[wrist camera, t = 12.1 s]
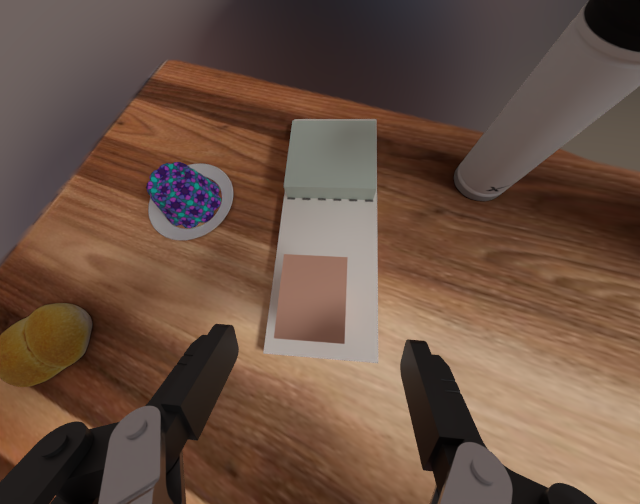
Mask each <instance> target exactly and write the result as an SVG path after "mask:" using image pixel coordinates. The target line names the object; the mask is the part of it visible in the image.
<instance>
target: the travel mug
mask: <svg viewBox="0 0 640 504" xmlns="http://www.w3.org/2000/svg"><path fill="white" fill-rule="evenodd" d="M639 86H640V0H589V1H588V2H587V3H586V4H585V5H584V7H583V8H582V9H581V11H580V12H579V14H578V16H577V17H575V18H574V19H573V21H572V22H571V23H570V24H569V26H568V27H567V28H566V30H565V31H564V32H563V33H562V35H561V36H560V37H559V38H558V40H557V41H556V42H555V44H554V45H553V46H552V47H551V49H550V50H549V51H548V53H547V54H546V55H545V56H544V58H543V59H542V60H541V61H540V63H539V64H538V65H537V67H536V68H535V69H534V70H533V72H532V73H531V75H529V77H528V78H527V79H526V81H525V82H524V83H523V84H522V86H521V87H520V88H519V90H518V91H517V92H516V93H515V95H514V96H513V97H512V99H511V100H510V101H509V102H508V104H507V105H506V106H505V107H504V109H503V110H502V111H501V112H500V114H499V115H498V116H497V118H496V119H495V120H494V121H493V123H492V124H491V125H490V126H489V128H488V129H487V130H486V132H485V133H484V134H483V135H482V137H481V138H480V139H479V141H478V142H477V143H476V144H475V146H474V147H473V148H472V149H471V151H470V152H469V153H468V155H467V156H466V157H465V158H464V160H463V161H462V162H461V163H460V165H459V166H458V167H457V169H456V170H455V173H454V182H455V185H456V187H457V189H458V190H459V191H460V192H461V193H462V194H463V195H465V196H466V197H468V198H470V199H473V200H477V201H488V200H492V199H495V198H496V197H498V196H499V195H500V194H502V193H503V192H504V191H506V190H507V189H508V188H509V187H511V186H512V185H513V184H515V183H516V182H517V181H518V180H520V179H521V178H522V177H524V176H525V175H526V174H527V173H529V172H530V171H531V170H532V169H534V168H535V167H536V166H538V165H539V164H540V163H541V162H543V161H544V160H545V159H547V158H548V157H549V156H550V155H552V154H553V153H554V152H556V151H557V150H558V149H559V148H561V147H562V146H563V145H565V144H566V143H567V142H568V141H570V140H571V139H572V138H573V137H575V136H576V135H577V134H578V133H580V132H581V131H582V130H584V129H585V128H586V127H588V126H589V125H590V124H591V123H593V122H594V121H595V120H596V119H598V118H599V117H600V116H602V115H603V114H604V113H605V112H607V111H608V110H609V109H610V108H612V107H613V106H614V105H616V104H617V103H618V102H619V101H621V100H622V99H623V98H625V97H626V96H627V95H628V94H630V93H631V92H632V91H634V90H635V89H636V88H637V87H639Z"/></svg>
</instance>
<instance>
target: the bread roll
mask: <svg viewBox="0 0 640 504" xmlns="http://www.w3.org/2000/svg"><path fill="white" fill-rule="evenodd" d="M92 325H93V324H92V320H91V317H90V315H89V314H88V313H87V312H86V311H85V310H84V309H82V308H81V307H79V306H77V305H74V304H68V303H55V304H48V305H44V306H42V307H39V308H38V309H36V310H35V311H34V312H33V313H32V314H31V315H30V316H29V317H26V318H24V319H22V320H20V321H18V322H17V323H15V324H13V325H12V326H11V327H9V328H8V329H7V330H6V331H4V332H3V333H2V334H1V335H0V378H1V379H2V380H3V381H5V382H6V383H8V384H11V385H14V386H18V387H29V386H33V385H36V384H39V383H42V382H45V381H46V380H48V379H50V378H52V377H53V376H55V375H56V374H58V373H59V372H60V371H62V370H63V369H65V368H66V367H68V366H70V365H72V364H73V363H75V362H76V361H77V360H79V359H80V358H81V357H82V356H83V355H84V353H85V352H86V349H87V346H88V344H89V340H90V335H91V330H92Z"/></svg>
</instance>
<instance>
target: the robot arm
mask: <svg viewBox="0 0 640 504" xmlns="http://www.w3.org/2000/svg"><path fill="white" fill-rule="evenodd" d="M238 350H239V348H238V343H237V339H236V335H235V330H234V327H233V326H232V325H224V324H215V325H214V326H213V327H212V329H211V330H210V332H209V333H208V335H202V336H200V337H199V338H198V339H197V340H195V341H194V342H193V343H192V344H191V345H190V346H189V348H188V349H187V351H186V352H185V353H184V356H182V357H181V359H180V360H179V362H178V363H177V365H176V366H175V367H174V368H173V370H172V371H171V372H170V374H169V375H168V377H167V378H166V379H165V381H164V382H163V383H162V385H161V386H160V388H159V389H158V390H157V392H156V393H155V394H154V396H153V397H152V399H151V400H150V401H149V402H148V404H147V405H146V406H144V407H141V408H138V409H136V410H134V411H133V412H131V413H130V414H128V415H127V416H126V417H125V418H123V419H122V420H121V421H120V422H117V423H113V424H109V425H105V426H101V427H97V428H93V429H88V428H87V427H86V426H85V424H84V423H82V422H71V423H67V424H65V425H62V426H60V427H58V428H57V429H55V430H53V431H52V432H50V433H49V434H47V435H46V436H45V437H44V438H42V439H41V440H40V441H39V442H38V443H37V444H36V445H35V446H34V447H33V448H32V449H31V450H30V451H29V452H28V453H27V454H26V455H25V456H24V458H23V459H22V460H21V461H20V462H19V463H18V464H17V465H16V466H15V467H14V468H13V469H12V470H11V471H10V472H9V473H8V475H7V476H6V477H5V478H4V479H3V480H2V481H1V482H0V504H49V503H50V502H51V500H52V499H53V498H54V496H55V495H56V497H55V498H54V500H53V501H52V502H51V504H186V495H185V479H184V463H183V451H182V449H183V447H184V445H185V443H186V441H187V439H190V440H198V439H199V437H200V435H201V433H202V431H203V429H204V426H205V424H206V422H207V420H208V418H209V416H210V414H211V412H212V410H213V408H214V406H215V404H216V401H217V399H218V397H219V395H220V393H221V391H222V389H223V387H224V385H225V383H226V381H227V378H228V376H229V374H230V372H231V370H232V368H233V366H234V364H235V362H236V359H237V356H238ZM400 370H401V377H402V382H403V386H404V390H405V395H406V399H407V403H408V408H409V412H410V416H411V421H412V425H413V429H414V434H415V438H416V442H417V447H418V451H419V455H420V460H421V464H422V468H423V470H426V471H433V474H434V477H435V481H436V486H435V489H434V492H433V495H432V498H431V500H430V503H429V504H597V503H595V502H594V501H593V500H592V499H591V498H590V497H588V496H587V495H586V494H584V493H583V492H581V491H580V490H578V489H576V488H574V487H572V486H570V485H567V484H564V483H555V484H553V485H551V486H550V487H549V488H547V487H545V486H543V485H541V484H539V483H536V482H534V481H532V480H530V479H528V478H526V477H524V476H521V475H519V474H517V473H515V472H513V471H511V470H510V469H508V468H507V467H505V466H504V465H503V464H502V463H501V462H500V461H499V459H498V458H497V457H496V456H495V455H494V454H493V453H492V452H490V451H489V450H488V449H487V447H486V446H485V444H484V443H483V441H482V439H481V437H480V435H479V432H478V430H477V428H476V426H475V423H474V421H473V419H472V417H471V414H470V412H469V410H468V408H467V406H466V403H465V401H464V399H463V397H462V394H460V390H459V388H458V385H457V383H456V382H455V379H454V376H453V374H452V372H451V370H450V367H449V366H448V365H447V364H446V363H445V361H444V360H443V359H442V358H441V357H440V356H439V355H431V352H430V349H429V347H428V344H427V343H426V341H419V340H406V343H405V347H404V351H403V355H402V359H401V364H400Z"/></svg>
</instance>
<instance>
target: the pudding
mask: <svg viewBox="0 0 640 504" xmlns="http://www.w3.org/2000/svg"><path fill="white" fill-rule="evenodd" d="M206 177H208V178H210V179H212V180H214V181H215V182H216V183H217V184H218V185H219V187H220V189H221V192H222V203H221V198H220V197H219V196H218V193H219V187H218V185H217V184H216V183H214V182H213V181H211V180H209V179H208V178H206ZM146 188H147V191H148V194H149V195H150V197H151V198H150V202H149V208H148V213H149V218H150V221H151V224H152V225H153V227H154V228H155V229H156V230H157V231H158V232H159V233H160V234H161V235H163V236H165V237H167V238H170V239H174V240H190V239H195V238H198V237H201V236H203V235H205V234H207V233H209V232H210V231H212V230H213V229H214V228H216V227H217V226H218V225H219V224H220V223H221V222H222V221H223V220H224V218H225V217H226V215H227V214H228V212H229V210H230V208H231V205H232V201H233V187H232V184H231V181H230V179H229V177H228V176H227V175H226V174H225V173H224V172H223V171H222V170H220V169H219V168H217V167H215V166H212V165H208V164H191V165H186V164H184V163H181V162H174V163H172V164H170V163H166V164H163V165H162V166H160V167H159V169H158V170H155V171H154V172H152V173H151V175H150V181H149V182H148V183H147V187H146ZM220 203H221V206H220ZM219 206H220V208H219V210H218V212H217V213H216V215H215V216H214V217H213V214H214V210H215V209H217V208H218V207H219ZM212 217H213V218H212ZM211 218H212V219H211ZM167 219H168V220H169V221H170V222H171V223H172V224H173V225H172V224H171V223H170V222H169V221H168V220H167ZM210 219H211V220H210ZM208 220H210V221H208ZM207 221H208V222H207ZM200 222H207V223H206V224H204V225H202V226H199V227H196V226H197V225H198V224H199V223H200ZM174 225H176V226H177V225H183V226H184V227H185V228H192V229H182V228H178V227H175V226H174ZM193 227H196V228H193Z"/></svg>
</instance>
